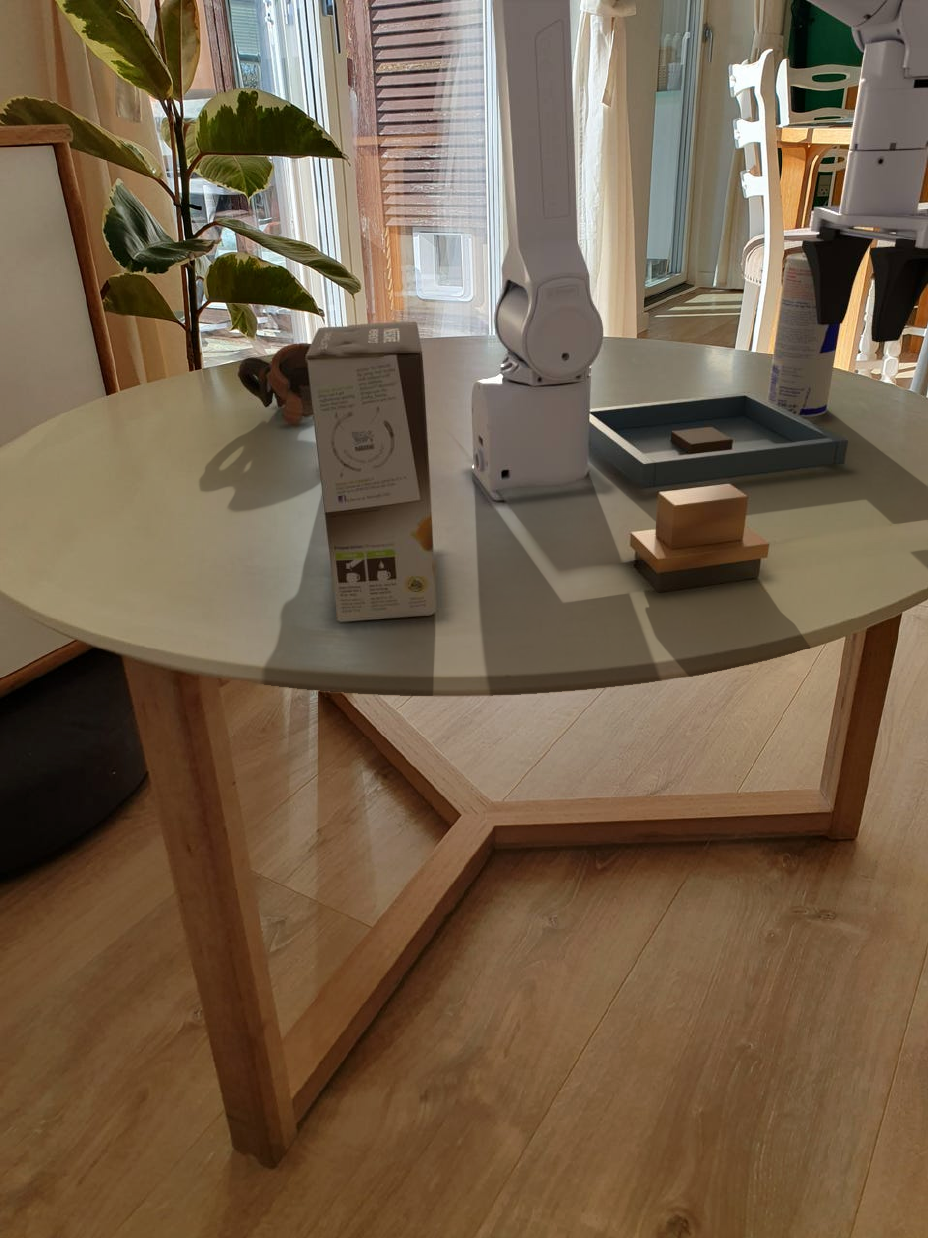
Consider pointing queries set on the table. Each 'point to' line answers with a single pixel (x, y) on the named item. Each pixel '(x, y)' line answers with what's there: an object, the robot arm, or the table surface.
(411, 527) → the coffee box
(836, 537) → the table surface
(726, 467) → the tray
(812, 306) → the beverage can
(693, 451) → the mud patch
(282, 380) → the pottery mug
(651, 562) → the brush
